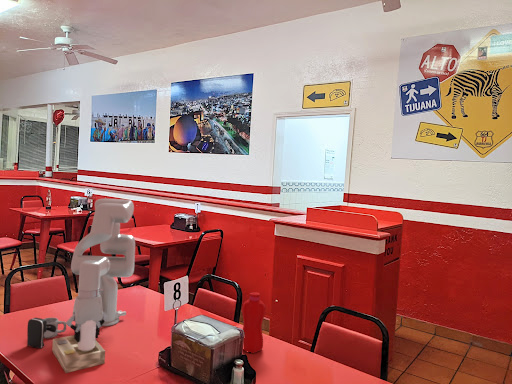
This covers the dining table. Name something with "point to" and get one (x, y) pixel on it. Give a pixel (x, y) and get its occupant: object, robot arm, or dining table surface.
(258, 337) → the water bottle
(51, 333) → the mug
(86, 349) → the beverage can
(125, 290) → the dining table surface
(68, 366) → the holder block
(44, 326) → the battery charger
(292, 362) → the dining table surface
